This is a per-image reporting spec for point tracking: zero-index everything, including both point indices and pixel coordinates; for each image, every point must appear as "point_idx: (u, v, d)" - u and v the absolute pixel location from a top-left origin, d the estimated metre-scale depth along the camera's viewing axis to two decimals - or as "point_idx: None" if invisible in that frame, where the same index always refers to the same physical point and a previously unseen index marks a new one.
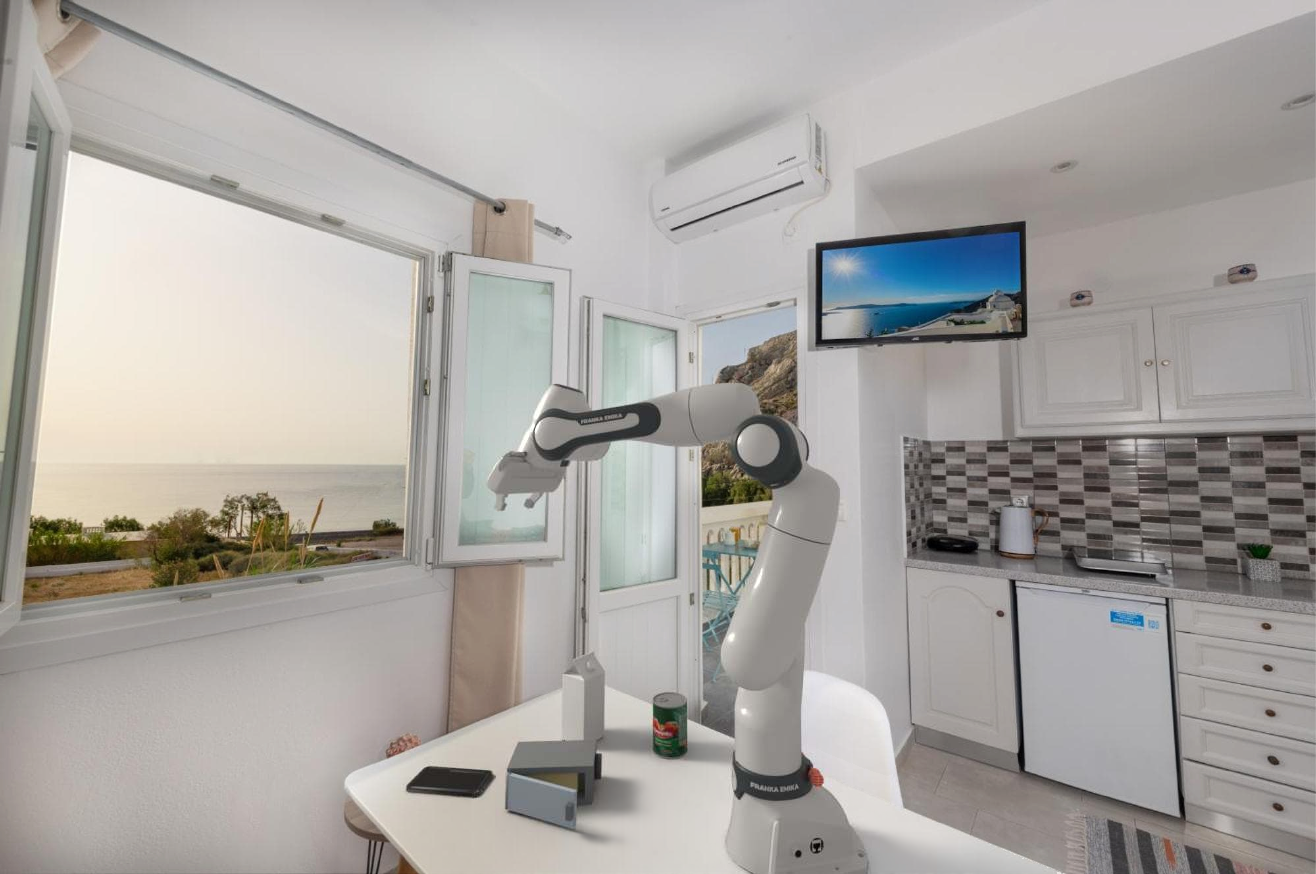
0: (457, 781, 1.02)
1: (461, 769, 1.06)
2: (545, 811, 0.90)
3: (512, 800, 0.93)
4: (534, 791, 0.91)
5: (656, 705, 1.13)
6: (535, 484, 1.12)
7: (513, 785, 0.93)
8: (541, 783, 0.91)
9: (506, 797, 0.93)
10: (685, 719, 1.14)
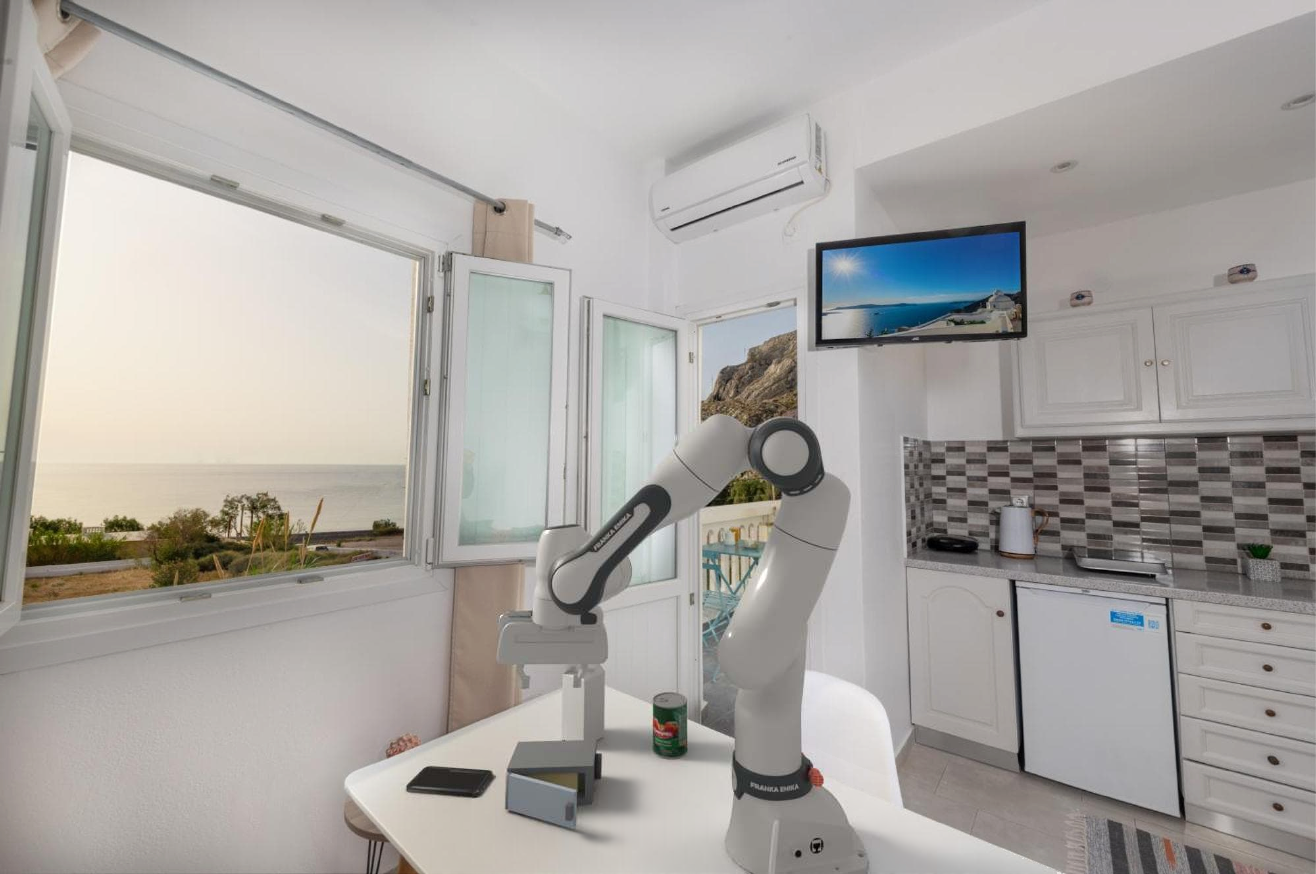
0: (457, 781, 1.02)
1: (461, 769, 1.06)
2: (545, 811, 0.90)
3: (512, 800, 0.93)
4: (534, 791, 0.91)
5: (656, 705, 1.13)
6: (560, 652, 0.93)
7: (513, 785, 0.93)
8: (541, 783, 0.91)
9: (506, 797, 0.93)
10: (685, 719, 1.14)
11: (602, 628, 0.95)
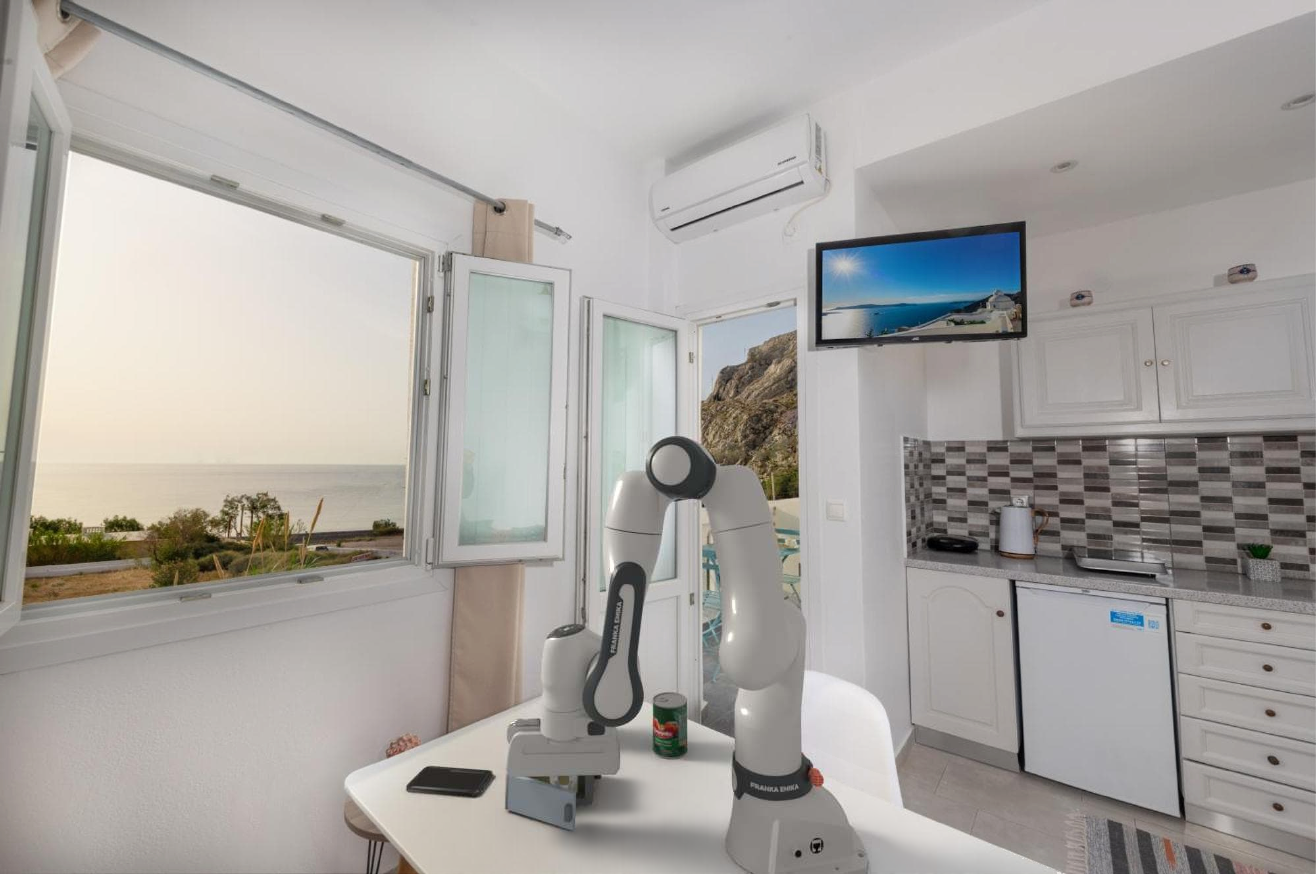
0: (457, 781, 1.02)
1: (461, 769, 1.06)
2: (544, 812, 0.90)
3: (512, 800, 0.93)
4: (533, 791, 0.91)
5: (656, 705, 1.13)
6: (570, 763, 0.90)
7: (513, 785, 0.93)
8: (541, 783, 0.91)
9: (506, 797, 0.93)
10: (685, 719, 1.14)
11: (611, 738, 0.90)
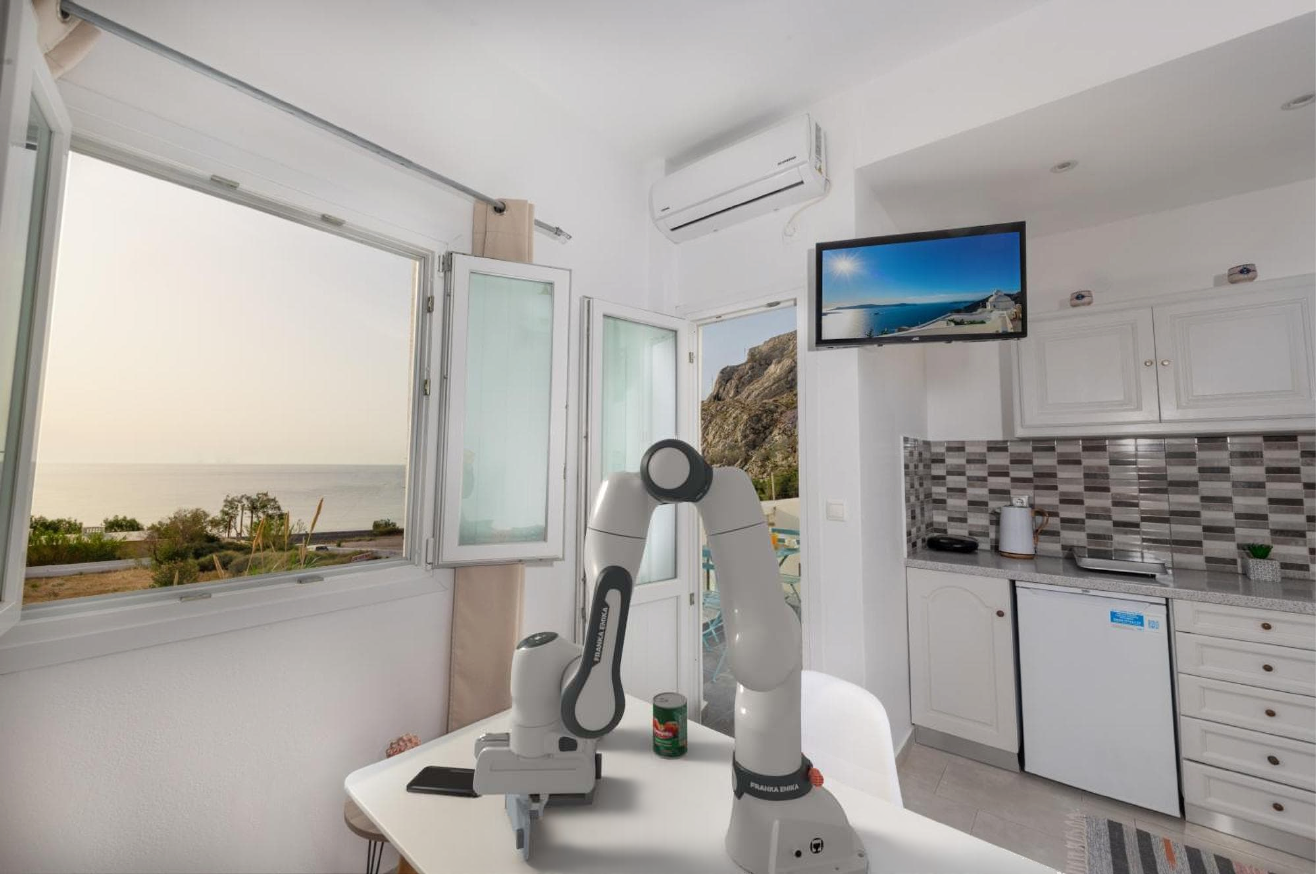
0: (457, 781, 1.02)
1: (461, 769, 1.06)
2: (515, 827, 0.86)
3: (507, 802, 0.93)
4: (513, 801, 0.89)
5: (656, 705, 1.13)
6: (540, 780, 0.85)
7: None
8: (516, 796, 0.88)
9: (505, 796, 0.94)
10: (685, 719, 1.14)
11: (584, 754, 0.85)
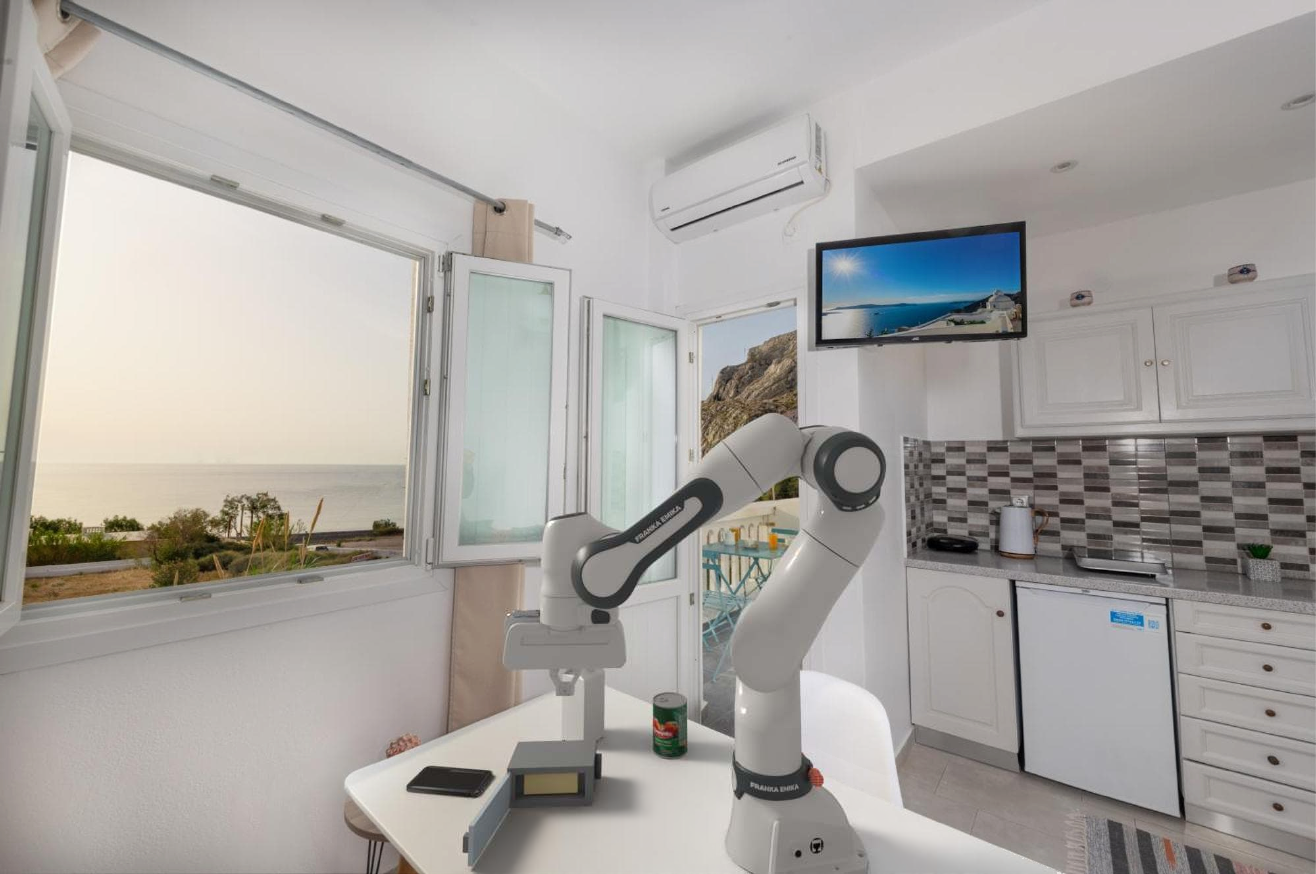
0: (457, 781, 1.02)
1: (461, 769, 1.06)
2: None
3: None
4: None
5: (656, 705, 1.13)
6: (572, 655, 0.84)
7: None
8: (489, 798, 0.87)
9: None
10: (685, 719, 1.14)
11: (617, 628, 0.84)
